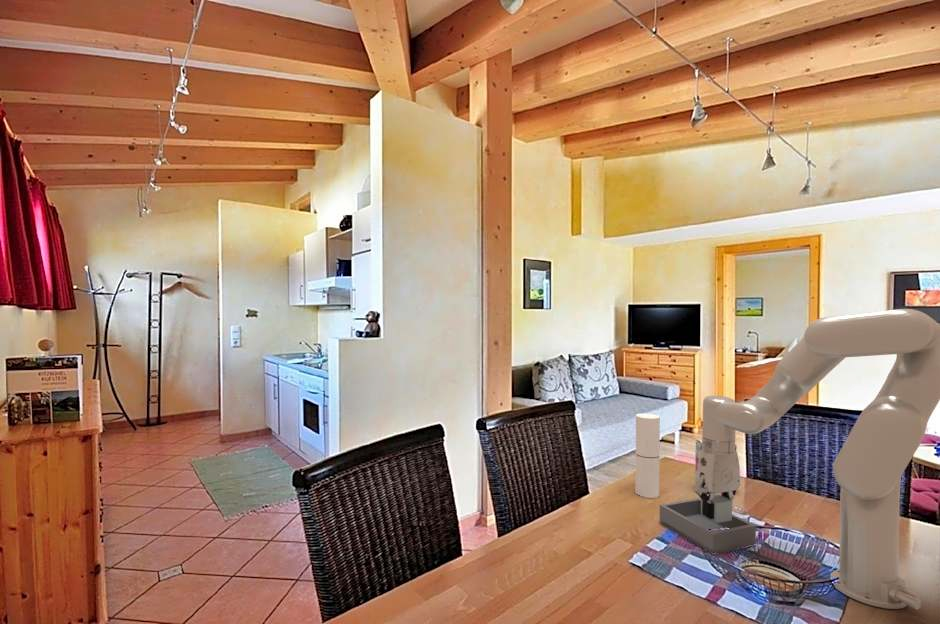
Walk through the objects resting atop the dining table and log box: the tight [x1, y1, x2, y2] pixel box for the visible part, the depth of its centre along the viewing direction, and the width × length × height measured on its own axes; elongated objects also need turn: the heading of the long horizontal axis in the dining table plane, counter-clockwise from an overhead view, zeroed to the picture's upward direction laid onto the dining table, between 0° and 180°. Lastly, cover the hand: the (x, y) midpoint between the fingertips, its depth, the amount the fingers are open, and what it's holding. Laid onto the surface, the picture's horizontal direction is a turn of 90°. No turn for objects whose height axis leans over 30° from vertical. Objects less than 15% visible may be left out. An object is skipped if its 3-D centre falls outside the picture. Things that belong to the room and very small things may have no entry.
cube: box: [701, 493, 733, 523], centre depth 121 cm, size 5×5×5 cm
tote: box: [659, 497, 757, 554], centre depth 125 cm, size 18×14×5 cm
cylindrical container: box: [634, 412, 661, 499], centre depth 151 cm, size 7×7×25 cm
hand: (716, 514), depth 121 cm, fingers closed on cube, 5 cm apart
